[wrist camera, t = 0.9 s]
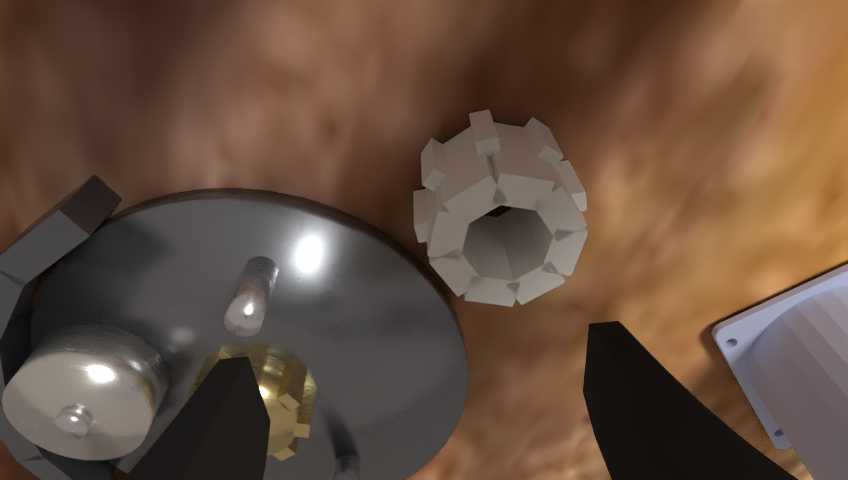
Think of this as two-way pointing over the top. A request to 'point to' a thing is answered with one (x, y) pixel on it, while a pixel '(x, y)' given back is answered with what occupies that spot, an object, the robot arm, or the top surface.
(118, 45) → the top surface
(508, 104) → the top surface
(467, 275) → the planet gear
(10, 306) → the carrier
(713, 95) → the top surface
